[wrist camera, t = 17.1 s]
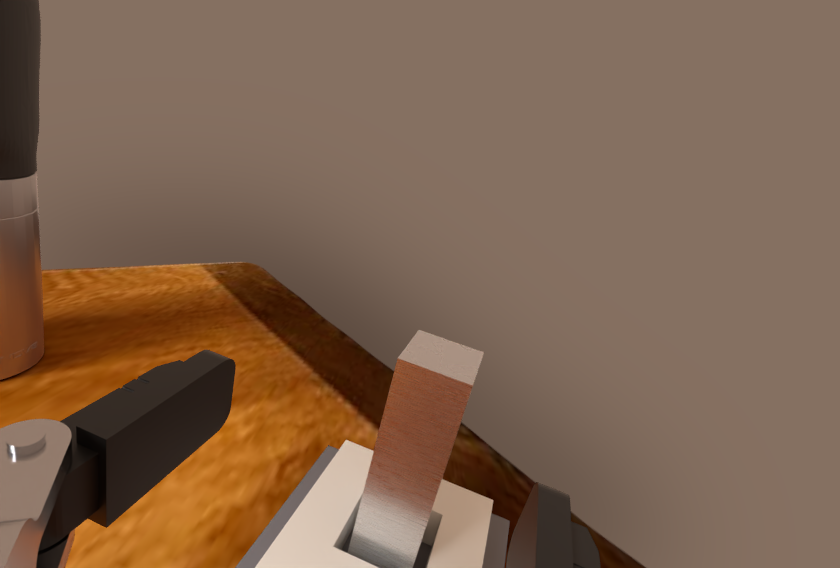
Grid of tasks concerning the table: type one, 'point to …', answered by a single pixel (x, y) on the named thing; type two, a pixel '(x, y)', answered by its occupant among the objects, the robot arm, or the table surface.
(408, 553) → the steel peg
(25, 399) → the table surface
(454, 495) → the socket block
